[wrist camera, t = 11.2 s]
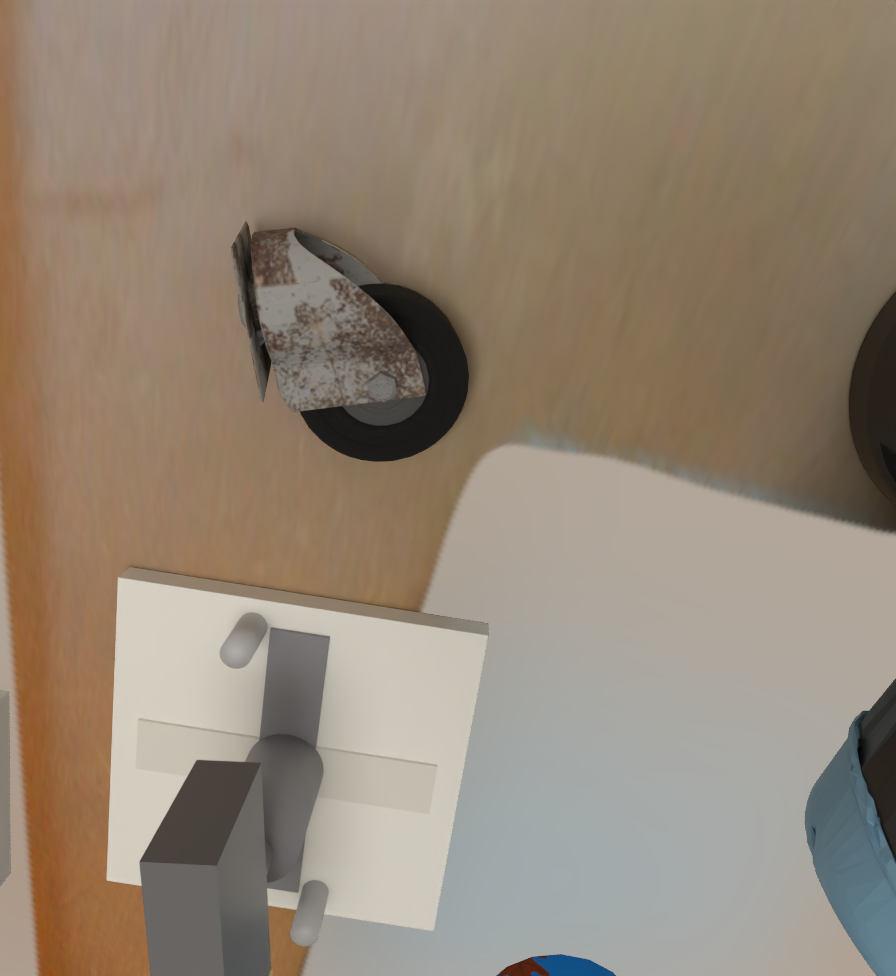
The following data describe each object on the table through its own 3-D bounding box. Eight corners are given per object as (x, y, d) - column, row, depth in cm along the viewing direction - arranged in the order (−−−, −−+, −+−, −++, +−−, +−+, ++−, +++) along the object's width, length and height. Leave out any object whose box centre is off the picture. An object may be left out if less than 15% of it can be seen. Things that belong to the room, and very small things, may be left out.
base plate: (488, 623, 44) (489, 701, 36) (434, 911, 49) (426, 1031, 42) (130, 566, 44) (55, 632, 36) (117, 862, 49) (50, 973, 42)
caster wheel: (460, 416, 43) (277, 439, 42) (444, 199, 38) (233, 220, 37) (481, 470, 37) (268, 498, 37) (465, 223, 32) (215, 249, 31)
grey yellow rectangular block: (215, 725, 37) (137, 862, 28) (277, 728, 36) (217, 866, 28) (230, 966, 41) (166, 1149, 32) (286, 969, 40) (237, 1153, 32)
